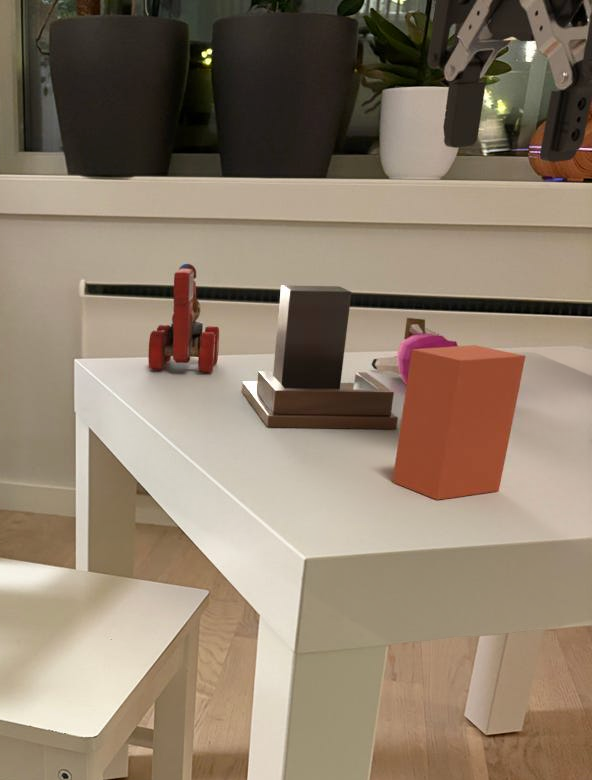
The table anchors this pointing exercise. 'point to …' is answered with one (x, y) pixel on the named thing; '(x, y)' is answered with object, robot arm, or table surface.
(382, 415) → the brown wooden stand
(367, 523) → the table surface
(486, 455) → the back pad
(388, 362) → the toy
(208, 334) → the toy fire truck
